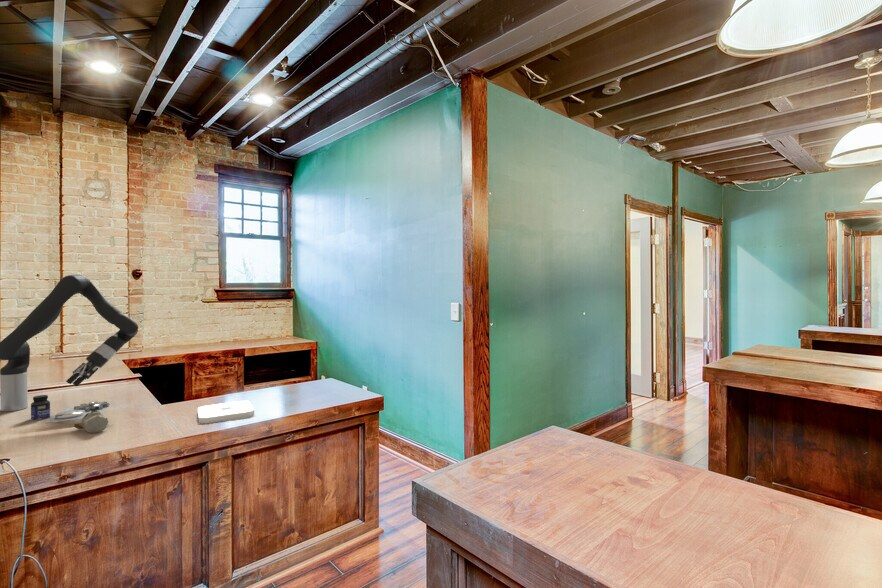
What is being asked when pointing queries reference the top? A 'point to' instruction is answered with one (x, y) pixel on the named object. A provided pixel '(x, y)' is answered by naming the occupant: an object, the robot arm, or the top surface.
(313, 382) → the top surface
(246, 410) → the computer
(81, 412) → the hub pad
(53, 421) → the gear board
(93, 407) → the gear
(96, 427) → the ceramic sculpture
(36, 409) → the pill bottle
